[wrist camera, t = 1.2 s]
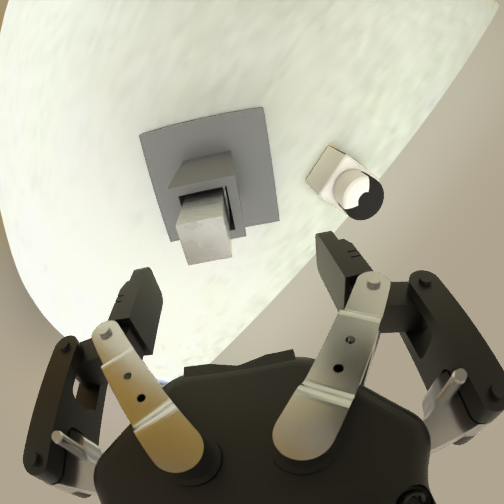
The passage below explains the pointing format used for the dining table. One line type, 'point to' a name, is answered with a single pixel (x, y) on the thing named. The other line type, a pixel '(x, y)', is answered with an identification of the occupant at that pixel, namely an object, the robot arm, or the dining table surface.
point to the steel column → (205, 226)
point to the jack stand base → (214, 167)
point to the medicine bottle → (346, 184)
